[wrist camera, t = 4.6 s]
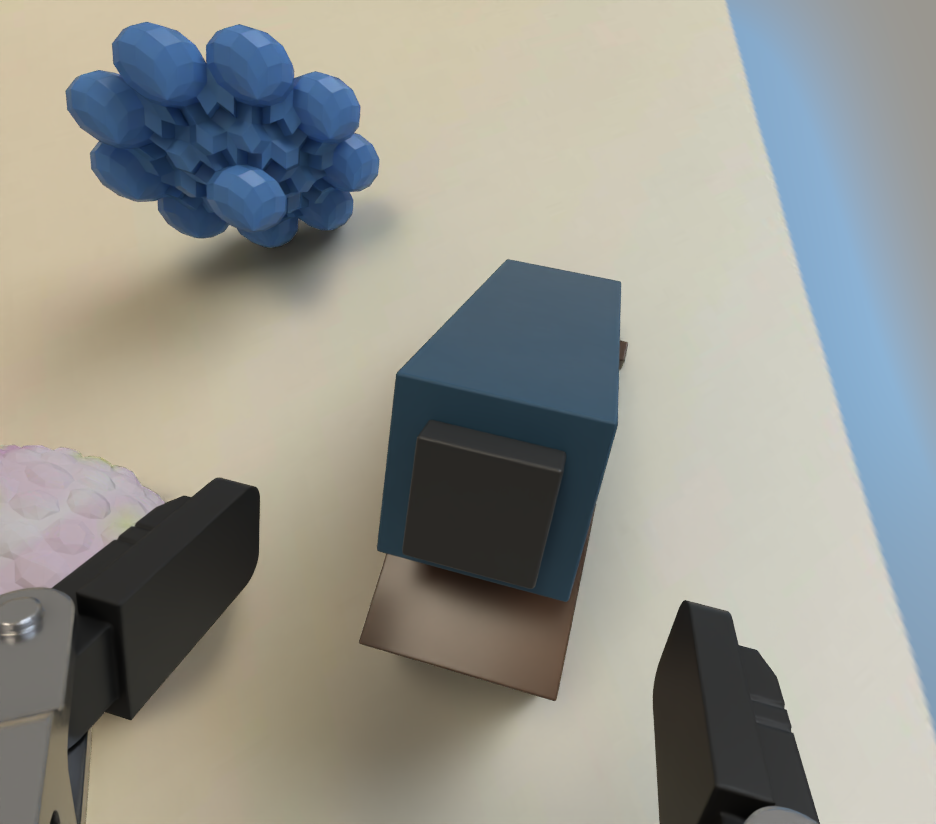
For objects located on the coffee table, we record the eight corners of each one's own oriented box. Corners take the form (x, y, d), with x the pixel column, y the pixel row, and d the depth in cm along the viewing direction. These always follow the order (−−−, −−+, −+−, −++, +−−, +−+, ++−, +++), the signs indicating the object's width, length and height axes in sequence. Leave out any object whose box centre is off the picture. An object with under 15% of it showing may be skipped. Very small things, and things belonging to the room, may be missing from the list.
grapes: (178, 336, 31) (-1, 152, 20) (167, 227, 34) (3, 10, 23) (409, 279, 32) (360, 70, 21) (382, 176, 34) (325, -60, 23)
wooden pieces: (554, 696, 24) (573, 706, 18) (381, 646, 25) (342, 638, 19) (624, 351, 30) (658, 266, 23) (479, 320, 31) (473, 230, 24)
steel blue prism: (542, 626, 26) (585, 591, 12) (423, 593, 26) (343, 526, 13) (608, 322, 30) (690, 63, 17) (505, 301, 31) (508, 36, 18)
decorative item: (169, 751, 20) (-194, 605, 15) (23, 759, 26) (-271, 657, 21) (275, 510, 26) (44, 347, 21) (137, 562, 32) (-69, 445, 27)
